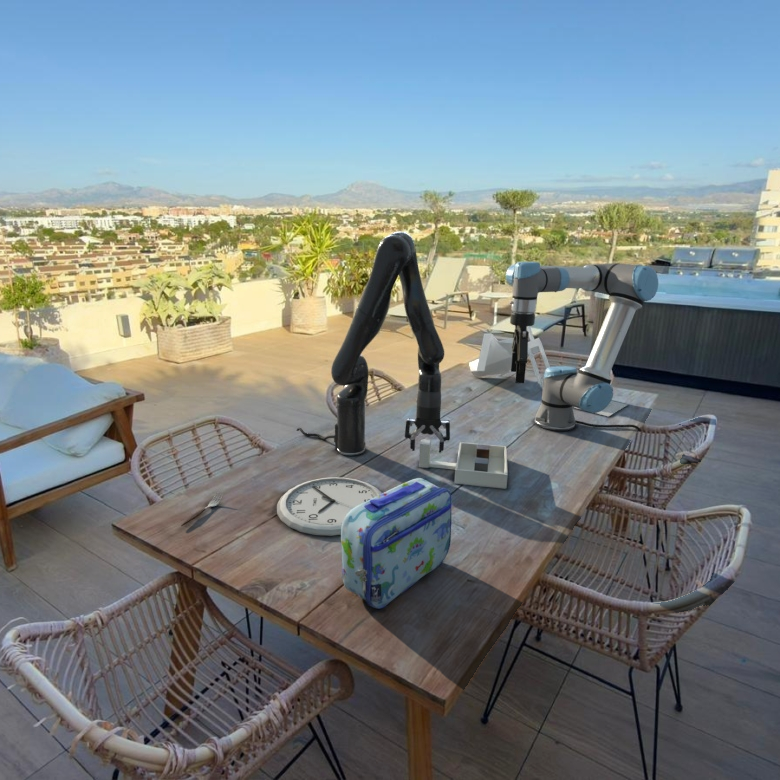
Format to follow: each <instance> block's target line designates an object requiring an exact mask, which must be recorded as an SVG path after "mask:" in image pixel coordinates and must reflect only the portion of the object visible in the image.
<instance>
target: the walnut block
mask: <svg viewBox="0 0 780 780" xmlns="http://www.w3.org/2000/svg"><path fill="white" fill-rule="evenodd" d="M476 444H477V452H476V458H487V459H488V463H489V451H490V447H489V445H490V444H485V445H482V444H483V443H476Z"/></svg>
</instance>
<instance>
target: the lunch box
mask: <svg viewBox="0 0 780 780" xmlns="http://www.w3.org/2000/svg"><path fill="white" fill-rule="evenodd" d="M451 539H452V494H451V491H450V490H449V488H446V487H439V486H437V485H435V484H434V483H432V482H430V481H428V480H426V479H424V478H421V477H416V478H413V479H410V480H408V481H405V482H403V483H402V484H398V485H397V486H395V487H392V488H390V489H389V490H386V491H384V492H382V494H380V495H378V496H376V497H374V498H372V499H370V500H368V501H366V502H364V503H362V504H360V505H358V506H356V507H354V508H353V509H351V510H350V511H349V512H348V514H347V515H346V517H345V518H344V520H343V523H342V528H341V535H340V546H341V569H342V570H341V571H342V582H343V585H344V588H345V589H346V590H347V591H349V592H351V593H353V594H355V595H356V596H358V597H359V598H361V599H362V600H364V601H365V602H366V603H367V605H368V606H370V607H372V608H374V609H378V610H379V609H380V610H381V609H383V608H384V607H387V605H389V604H390V603H391V602H392V601H393V600H395V599H396V598H397V597H399V596H400V595H402V594H403V593H404V592H405V591H407V590H408V589H409V588H411V587H412V586H413V585H415V584H416V583H418V581H419V580H420V579H421V578H423V577H425V576H427V575H428V574H429V573H431V572H432V571H434V570H435V569H437V568H438V567H439V566H441V564H442V563H443V562H444V561H445V559H446V557H447V556H448V554H449V550H450V547H451V541H452V540H451Z"/></svg>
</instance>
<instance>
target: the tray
mask: <svg viewBox="0 0 780 780" xmlns="http://www.w3.org/2000/svg"><path fill="white" fill-rule="evenodd" d="M431 444H432V441H431V439H424V438H423V439H421V440H420V443H419V457H418V459H419V460H418V463H419V464H418V468H423V469H429V468H435V469H444V470H454V484H457V485H466V486H475V487H483V488H494V489H503V490H507V485H508V475H509V474H508V473H509V472H508V453H507V446H506V445H497V444H496V445H495V444H488V445H489V447H490V451H489V463H488V472H483V471H474V466H475V457H476V452H477V444H478V443H473V442H461V441H460V442H459V446H458V451H457V458H456V462H449V461H448V462H447V461H438V460H437V461H436V460H431V449H432V448H431V447H432V446H431ZM481 444H482V445H486V444H484V443H481Z"/></svg>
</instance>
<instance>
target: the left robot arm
mask: <svg viewBox="0 0 780 780" xmlns="http://www.w3.org/2000/svg"><path fill="white" fill-rule="evenodd" d="M416 249H417V248H416V244H415V241H414V239H413V238H412V236H411V235H410V234H408V233H407V232H404V231H395V232H393V233H391V234H389V235H387V236H385V237H384V238H383V239H382V240H380V242H379V244H378V246H377V249H376V253H375V256H374V261H373V266H372V269H371V272H370V275H369V278H368V281H367V282H366V284H365V287H364V289H363V291H362V294H361V296H360V299H359V301H358V303H357V306H356V309H355V311H354V314H353V317H352V319H351V322H350V325H349V327H348V329H347V332H346V335H345V337H344V339H343V342H342V344H341V346H340V348H339V350H338V351H337V354H336V355H335V357H334V359H333V362H332V364H331V368H330V369H331V370H330V373H331V378H332V380H333V382H334V383H336V385H338V386H343V388H342V389H341V390H340V391H339V392H338V393H337V395H336V410H337V411H336V414H337V415H336V423H334V434H333V435H331V434H330V435H326V436H322V435H321V434H320V433H309V432H305V431H304V430H303V429H302V427H298V428H296V430H295V431H297V432H300V433H301V434H302V435H304V436H308V437H317V438H319V439H321V440H323V441H326V440H328V439H333V442H334V450H335V451H336V452H337V453H338V454H340V455H342V456H347V457H354V456H359V455H362V454H364V453H365V452H366V397H367V395H368V388H369V365H368V362H367V360H366V358H365V357H364V356H363V355H362V353H363V352H364V350H365V349H366V348H367V347H368V346H369V344H370V343H371V342H372V341H373V340H374V339H375V338H376V337H377V335H378V334H379V333H380V331H381V329H382V327H383V325H384V324H385V323H384V322H385V321H386V318H387V316H388V314H389V310H390V306H391V298H392V291H393V288H394V287H395V284H396V282H397V279H398V278H399V281H400V284H401V291H402V300H403V306H404V312H405V315H406V317H407V318H406V319H407V321H408V324H409V327H410V330H411V332H412V334H413V335H414V337H415V340H416V343H417V365H418V378H417V379H418V381H417V394H416V410H415V411H416V414H415V419H411V418H410V417H407V418H406V421H405V427H404V428H405V430H404V438H405V439H409V440H410V444H409V445H410V446H409V448H410V449H411V450H412V452H415V450H416V438H417V437H418V436H419V435H420V434H422V435H433V434H434V436H435V437H436V438H438V440H439V446H438V453H442V452H443V451H444V449H445V442H449V441H450V440H451V421H450V420H449V419H447V420H446V421H443V420H441V411H442V373H441V371H440V363H442V362H443V360H444V358H445V348H444V345H443V343H442V340H441V338H440V335H439V333H438V331H437V329H436V326H435V323H434V321H435V320H434V318H433V315H432V312H431V309H430V305H429V303H428V300H427V297H426V294H425V293H426V292H425V290H424V287H423V281H422V279H421V274H420V268H419V262H418V256H417V250H416ZM413 425H414V426H415V427H416V428H415V430H414V431H413V432H412V433H410V429H411V427H412V426H413ZM441 427H443V429H445V434H444V435H443V432H441V430H440V428H441ZM307 433H308V434H307Z"/></svg>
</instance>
